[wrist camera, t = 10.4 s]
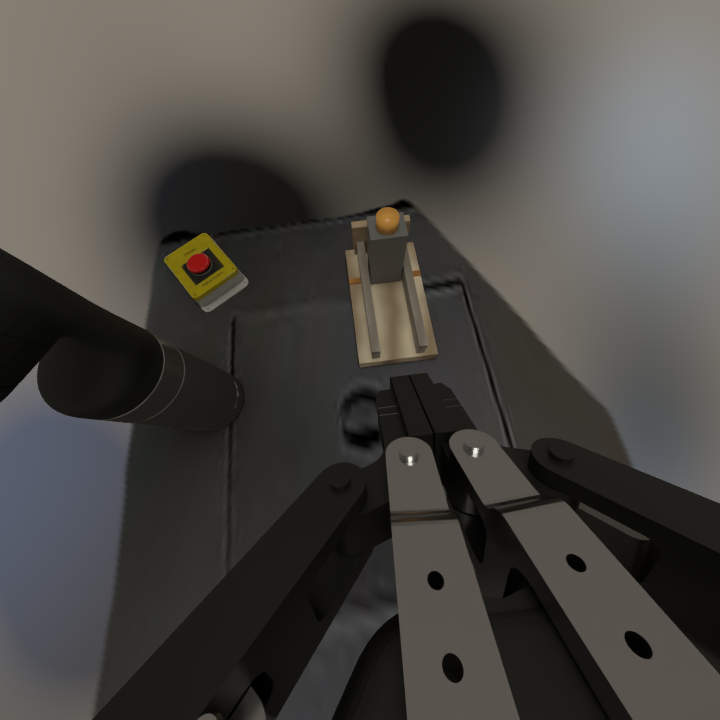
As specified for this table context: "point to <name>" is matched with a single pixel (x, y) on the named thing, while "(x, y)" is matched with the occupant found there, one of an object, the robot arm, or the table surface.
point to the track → (388, 308)
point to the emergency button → (206, 272)
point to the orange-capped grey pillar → (386, 245)
